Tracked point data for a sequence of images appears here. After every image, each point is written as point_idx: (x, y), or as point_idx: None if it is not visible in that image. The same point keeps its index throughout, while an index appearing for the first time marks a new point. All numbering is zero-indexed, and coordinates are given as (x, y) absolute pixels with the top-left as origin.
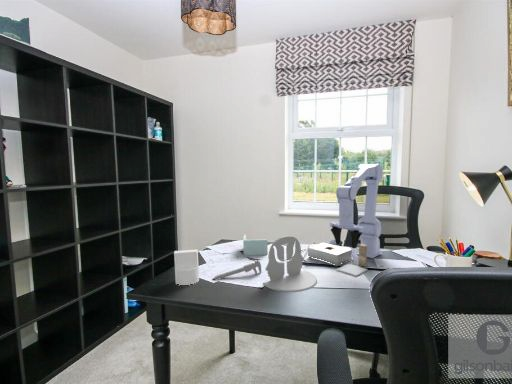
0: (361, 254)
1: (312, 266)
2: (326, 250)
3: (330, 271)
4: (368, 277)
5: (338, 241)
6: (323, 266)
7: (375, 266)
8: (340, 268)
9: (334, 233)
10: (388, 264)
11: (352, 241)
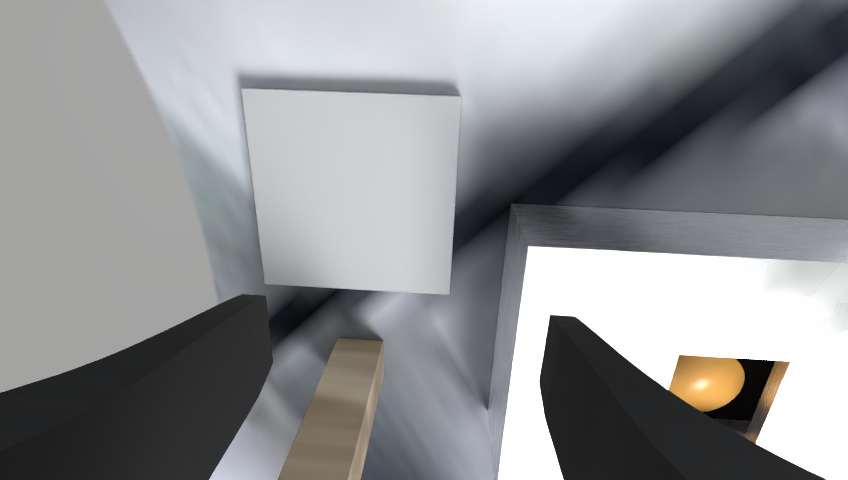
0: (336, 411)
1: (731, 15)
2: (722, 315)
3: (495, 28)
4: (176, 148)
5: (558, 374)
6: (622, 106)
7: (282, 388)
8: (439, 142)
9: (714, 458)
10: (246, 466)
11: (174, 347)
